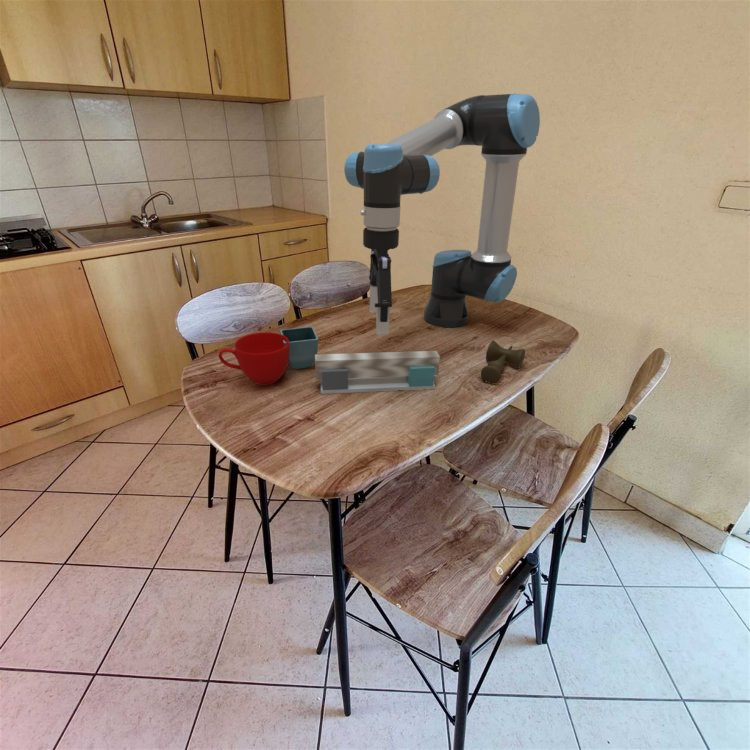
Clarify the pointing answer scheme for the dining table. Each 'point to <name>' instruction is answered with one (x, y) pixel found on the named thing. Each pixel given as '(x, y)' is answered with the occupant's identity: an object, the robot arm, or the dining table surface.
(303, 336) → the flower pot
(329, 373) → the long grey teal holder
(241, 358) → the ceramic cup
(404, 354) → the grey white bar
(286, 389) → the dining table surface
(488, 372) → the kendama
